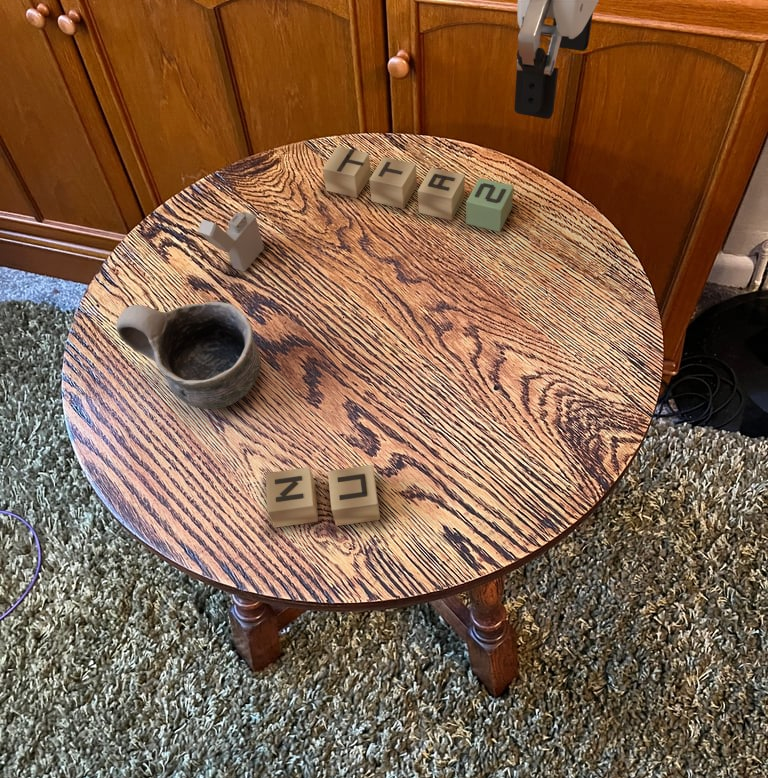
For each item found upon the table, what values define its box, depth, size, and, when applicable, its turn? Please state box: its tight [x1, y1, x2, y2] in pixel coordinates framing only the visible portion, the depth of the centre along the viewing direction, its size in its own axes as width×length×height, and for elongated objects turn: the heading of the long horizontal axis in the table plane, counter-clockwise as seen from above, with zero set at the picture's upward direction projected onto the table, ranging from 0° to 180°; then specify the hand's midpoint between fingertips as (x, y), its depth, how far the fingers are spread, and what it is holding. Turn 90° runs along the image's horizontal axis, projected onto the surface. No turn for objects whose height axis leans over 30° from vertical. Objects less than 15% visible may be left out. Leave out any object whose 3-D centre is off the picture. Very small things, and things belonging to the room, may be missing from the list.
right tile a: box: [417, 166, 466, 222], centre depth 85 cm, size 4×4×3 cm
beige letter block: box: [322, 145, 372, 199], centre depth 88 cm, size 4×4×3 cm
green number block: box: [465, 177, 515, 233], centre depth 84 cm, size 4×4×3 cm
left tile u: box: [327, 464, 381, 527], centre depth 68 cm, size 4×4×3 cm
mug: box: [116, 301, 262, 410], centre depth 72 cm, size 10×12×10 cm
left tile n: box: [265, 466, 319, 528], centre depth 68 cm, size 4×4×3 cm
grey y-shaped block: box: [197, 211, 265, 272], centre depth 81 cm, size 7×2×8 cm, turn 151°
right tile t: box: [368, 156, 418, 210], centre depth 87 cm, size 4×4×3 cm
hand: (552, 79), depth 66 cm, fingers open, 9 cm apart
